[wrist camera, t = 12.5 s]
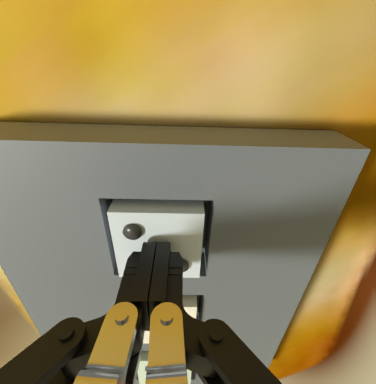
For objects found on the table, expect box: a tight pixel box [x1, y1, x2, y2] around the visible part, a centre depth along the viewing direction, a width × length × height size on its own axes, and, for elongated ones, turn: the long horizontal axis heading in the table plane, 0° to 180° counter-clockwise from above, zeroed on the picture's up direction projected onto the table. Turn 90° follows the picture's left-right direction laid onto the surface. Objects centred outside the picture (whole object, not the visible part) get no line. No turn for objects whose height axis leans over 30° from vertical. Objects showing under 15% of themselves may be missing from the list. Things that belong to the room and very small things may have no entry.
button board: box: [0, 121, 371, 384], centre depth 19 cm, size 28×20×3 cm
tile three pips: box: [107, 199, 205, 278], centre depth 14 cm, size 5×5×3 cm
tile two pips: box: [137, 351, 192, 384], centre depth 22 cm, size 5×5×3 cm
